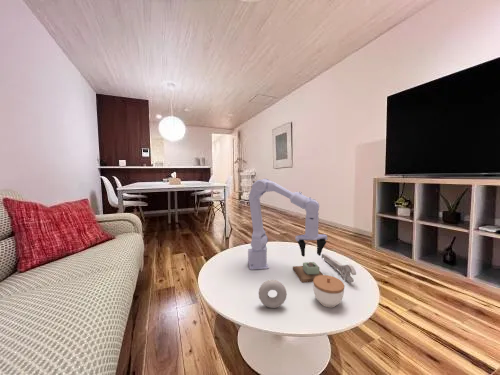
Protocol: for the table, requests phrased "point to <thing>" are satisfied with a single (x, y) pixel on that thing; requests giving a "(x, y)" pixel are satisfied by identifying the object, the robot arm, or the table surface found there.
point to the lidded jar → (328, 290)
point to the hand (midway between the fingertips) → (310, 255)
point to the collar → (311, 268)
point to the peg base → (303, 275)
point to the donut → (272, 301)
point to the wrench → (341, 268)
